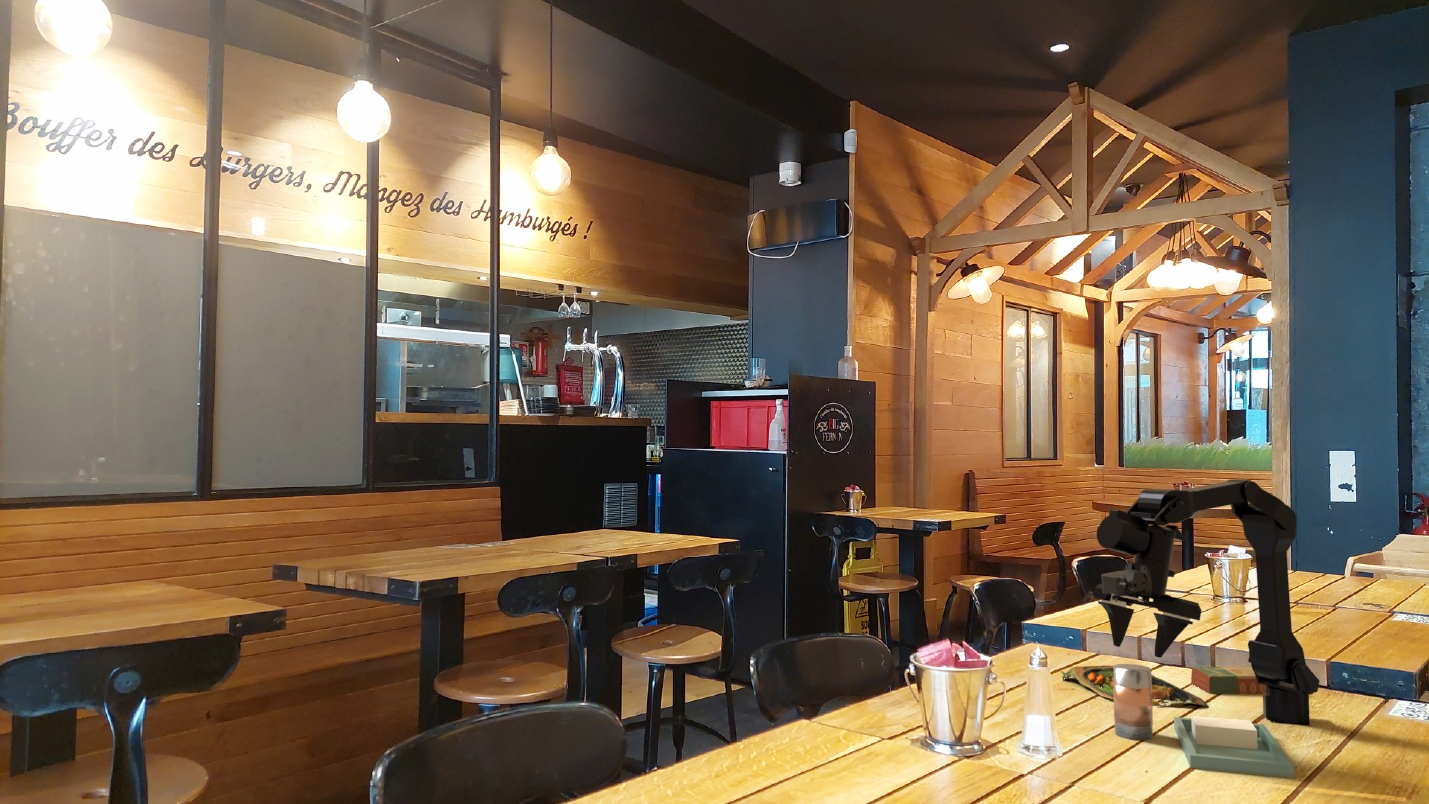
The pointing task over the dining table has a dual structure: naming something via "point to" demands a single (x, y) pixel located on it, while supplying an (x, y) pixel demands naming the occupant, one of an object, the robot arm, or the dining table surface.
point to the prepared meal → (1105, 678)
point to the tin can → (1133, 701)
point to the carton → (1226, 680)
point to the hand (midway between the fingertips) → (1136, 651)
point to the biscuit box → (1224, 732)
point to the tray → (1235, 753)
